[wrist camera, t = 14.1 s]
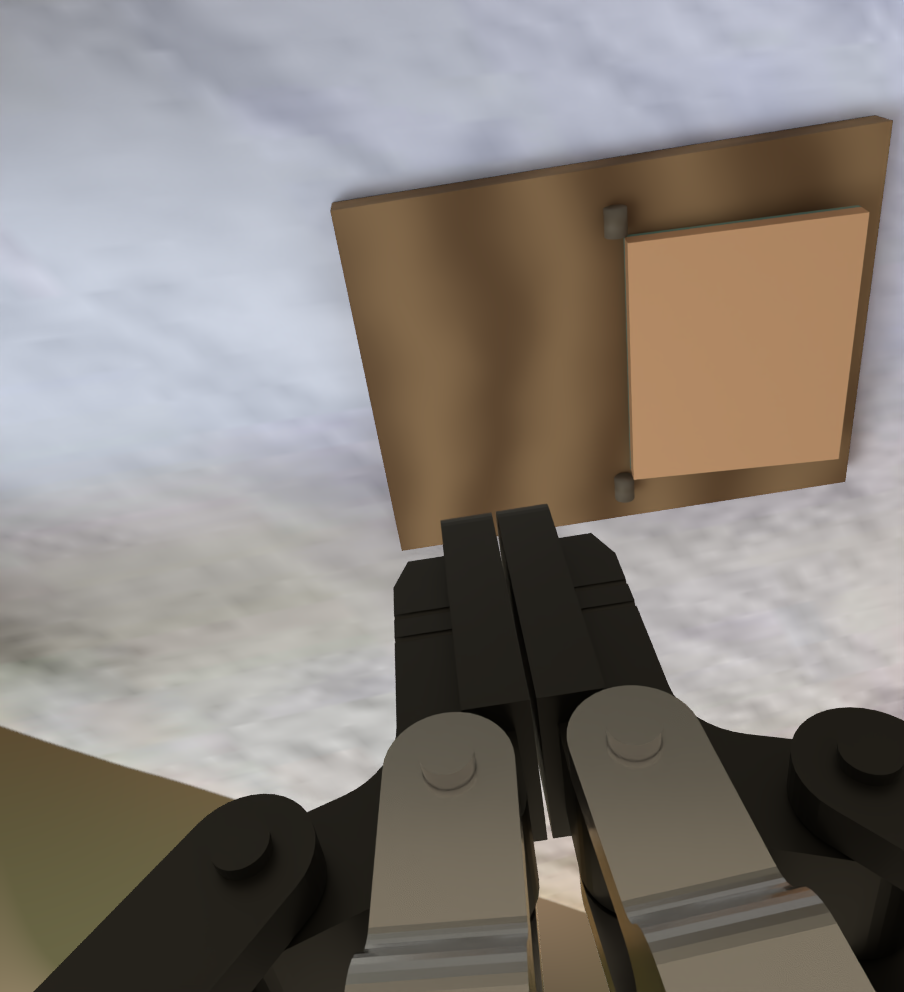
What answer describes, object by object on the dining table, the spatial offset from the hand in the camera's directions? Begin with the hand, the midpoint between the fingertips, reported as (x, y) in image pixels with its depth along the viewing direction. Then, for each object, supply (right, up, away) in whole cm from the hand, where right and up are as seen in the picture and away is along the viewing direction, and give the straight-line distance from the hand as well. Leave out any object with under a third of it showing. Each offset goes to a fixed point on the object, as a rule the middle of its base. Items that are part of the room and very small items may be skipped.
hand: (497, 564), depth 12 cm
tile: (+13, +7, +27) cm, 31 cm away
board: (+7, +8, +30) cm, 32 cm away
